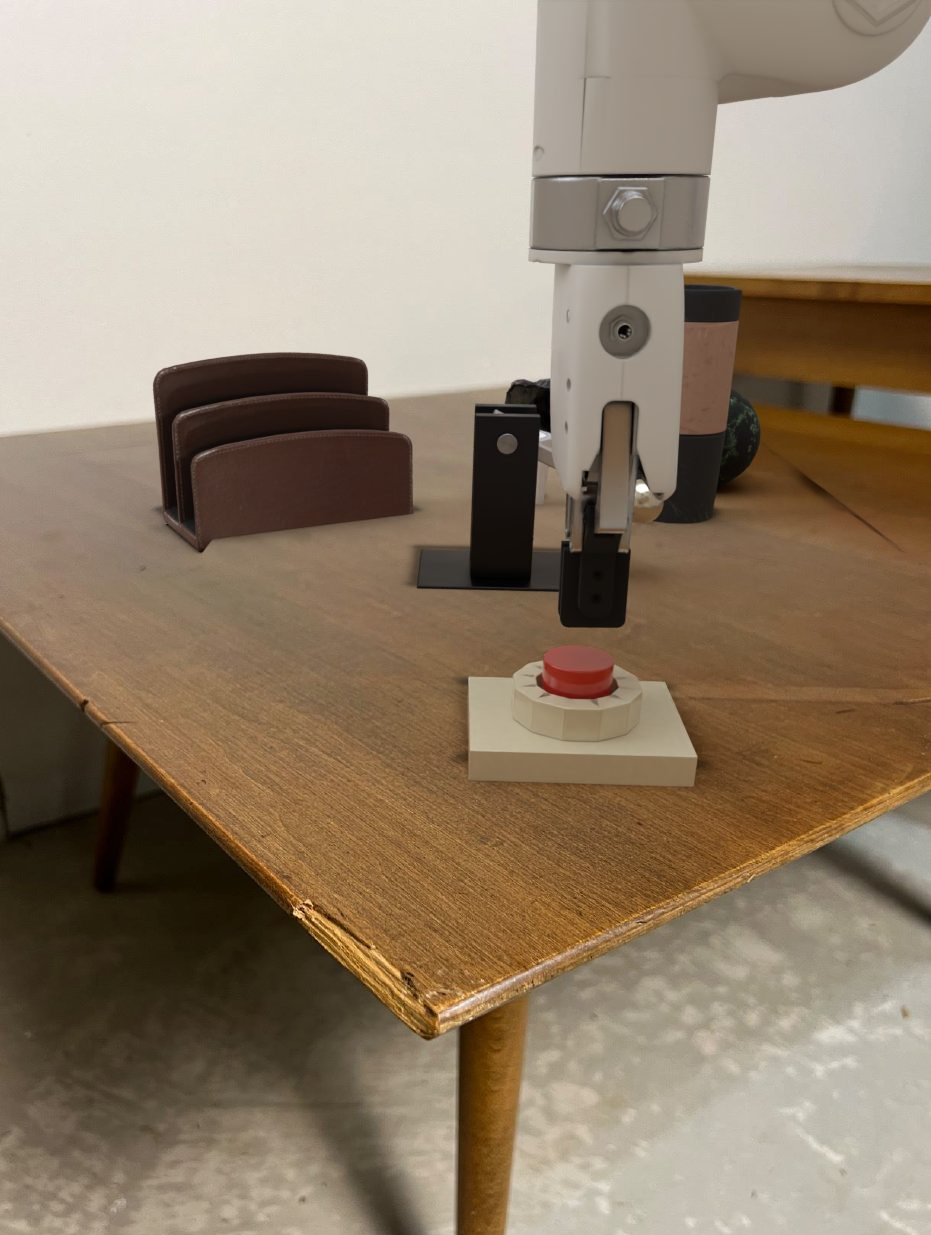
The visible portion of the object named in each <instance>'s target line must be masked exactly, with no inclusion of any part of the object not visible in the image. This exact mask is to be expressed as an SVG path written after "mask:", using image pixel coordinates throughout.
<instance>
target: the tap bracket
mask: <svg viewBox="0 0 931 1235" xmlns="http://www.w3.org/2000/svg"><path fill="white" fill-rule="evenodd" d="M494 410H498V411H500V412H502V413H504V414H493V412H494ZM536 410H537V407H536V405H524V404H505V403H475V404H474V417H473V418H474V421H473V422H474V423H473V450H472V478H471V508H470V535H469V536H470V540H469V543H470V544H469V549H435V548H434V549H433V548H431V549H430V548H427V549H426V548H422V549H420V554H419V555H420V556H419V565H418V574H417V581H416V582H417V583H416V589H418V590H421V589H422V590H456V591H457V590H459V591H460V590H462V591H505V592H540V593H541V592H544V593H545V592H547V593H549V592H550V593H559V577H560V557H561V551H533V549H534V536H535V535H534V534H535V533H534V532H535V516H536V505H535V502H536V485H537V468H538V451H539V435H540V415H539V414H536Z"/></svg>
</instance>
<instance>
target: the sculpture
mask: <svg viewBox="0 0 931 1235" xmlns="http://www.w3.org/2000/svg"><path fill="white" fill-rule="evenodd" d="M550 379H551V377H549V378H540V379H539V380H537V381H531V380H528V379H525V378H521V379H520V378H519V379H515V380H514V381H511V383H510V387H509V388H508V390H507V391H506V394H505V399H504V404H524V405H536V407H537V410H536V414H539V415H540V430H541V431H545V432H548V433H551V416H550Z"/></svg>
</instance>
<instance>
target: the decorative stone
mask: <svg viewBox="0 0 931 1235" xmlns="http://www.w3.org/2000/svg"><path fill="white" fill-rule="evenodd" d="M725 431H726V433H725V439H724V446H723V452H722V458H721V464H720V471H719V477H718V483H717V487H720V486H721V485H722V486H723V485H725V484H727V483H729V482H732V481H733V480H735V479H737V478H738V477H739V476H741V475H742V474H743V473H744V472H745V471H746V470H747V469H748V468H749V466H750V465H751V464H752V462H753V461H754V459H755V457H756V455H757V453H758V450H759V447H760V443H761V435H762V434H761V433H762V432H761V424H760V420H759V416H758V414H757V412H756V409H755V407H754V406H753V405H752V403H751V401H750V400H748V399H747V398H746V396H744V395H743V394H742V393H740V392H738V391H737V390H735V389H733V388H731V392H730V401H729V409H728V418H727V426H726V430H725Z"/></svg>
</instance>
